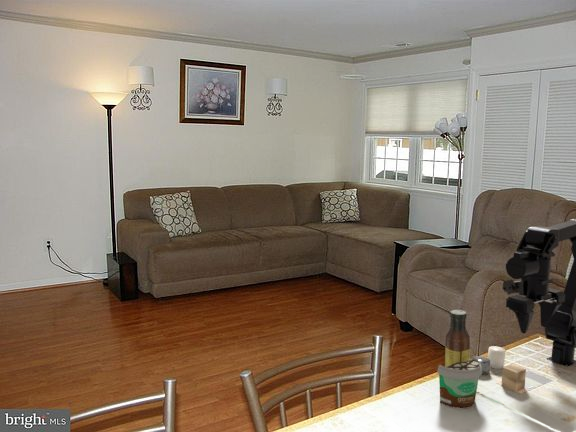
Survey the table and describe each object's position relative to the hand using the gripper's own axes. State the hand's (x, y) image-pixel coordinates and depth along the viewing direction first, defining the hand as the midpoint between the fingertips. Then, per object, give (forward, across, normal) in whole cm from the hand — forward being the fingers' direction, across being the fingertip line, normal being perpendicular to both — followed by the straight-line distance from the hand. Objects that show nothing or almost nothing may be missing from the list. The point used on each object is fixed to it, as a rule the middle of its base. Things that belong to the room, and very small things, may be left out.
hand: (533, 329), depth 143 cm
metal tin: (+13, +11, -8) cm, 19 cm away
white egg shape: (+13, +4, -8) cm, 16 cm away
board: (+13, +6, +2) cm, 15 cm away
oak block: (+12, +11, +2) cm, 17 cm away
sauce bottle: (+13, +22, -7) cm, 27 cm away
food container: (+13, +29, +1) cm, 32 cm away
